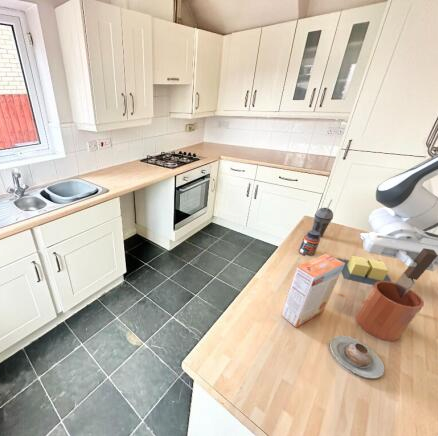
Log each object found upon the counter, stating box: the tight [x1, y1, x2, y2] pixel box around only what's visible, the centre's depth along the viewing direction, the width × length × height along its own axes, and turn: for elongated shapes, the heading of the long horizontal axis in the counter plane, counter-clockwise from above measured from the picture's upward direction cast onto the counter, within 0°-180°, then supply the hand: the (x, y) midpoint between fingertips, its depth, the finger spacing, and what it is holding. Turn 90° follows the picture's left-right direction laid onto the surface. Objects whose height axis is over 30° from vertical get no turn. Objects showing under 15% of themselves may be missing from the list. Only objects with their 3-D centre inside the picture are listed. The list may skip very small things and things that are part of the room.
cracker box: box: [280, 253, 345, 328], centre depth 76 cm, size 14×6×21 cm, turn 115°
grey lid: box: [329, 335, 385, 379], centre depth 66 cm, size 12×12×5 cm
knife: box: [394, 248, 438, 298], centre depth 65 cm, size 2×5×15 cm, turn 156°
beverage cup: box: [311, 199, 334, 238], centre depth 116 cm, size 7×7×20 cm
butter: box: [347, 255, 389, 281], centre depth 95 cm, size 10×6×5 cm, turn 66°
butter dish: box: [336, 257, 393, 286], centre depth 96 cm, size 16×14×1 cm
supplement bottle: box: [298, 229, 321, 257], centre depth 106 cm, size 6×6×11 cm
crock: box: [355, 281, 425, 342], centre depth 73 cm, size 10×10×14 cm
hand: (422, 266), depth 62 cm, fingers closed on knife, 2 cm apart
